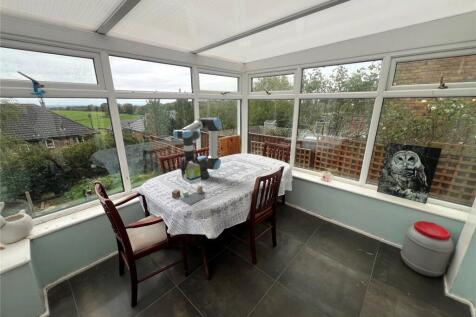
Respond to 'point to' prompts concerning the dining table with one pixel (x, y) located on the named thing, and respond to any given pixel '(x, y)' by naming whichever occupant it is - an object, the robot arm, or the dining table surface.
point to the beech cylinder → (200, 189)
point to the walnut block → (176, 193)
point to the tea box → (192, 173)
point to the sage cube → (185, 193)
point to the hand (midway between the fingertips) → (191, 175)
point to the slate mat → (192, 198)
